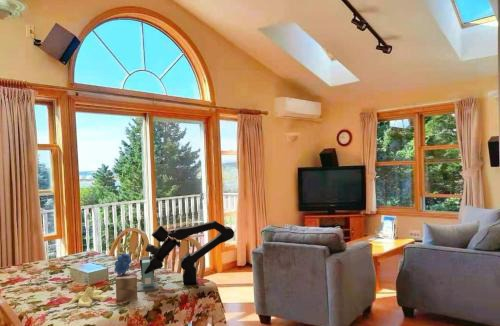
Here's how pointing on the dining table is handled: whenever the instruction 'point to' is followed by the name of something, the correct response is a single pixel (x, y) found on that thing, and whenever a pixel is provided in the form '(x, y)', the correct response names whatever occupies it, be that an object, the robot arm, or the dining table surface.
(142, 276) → the coffee mug
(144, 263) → the letter block
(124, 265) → the grapes
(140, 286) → the slate coaster
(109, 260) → the dining table surface
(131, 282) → the walnut screen
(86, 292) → the cloth
